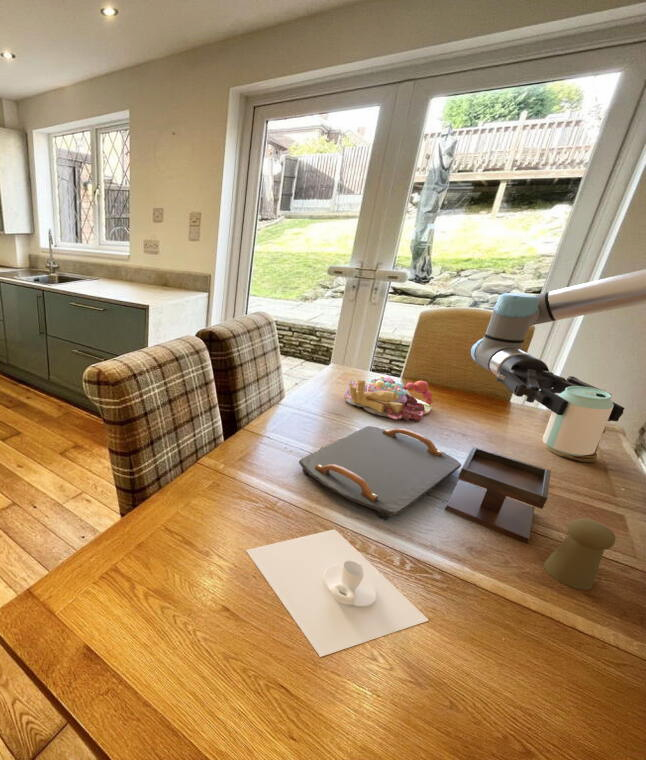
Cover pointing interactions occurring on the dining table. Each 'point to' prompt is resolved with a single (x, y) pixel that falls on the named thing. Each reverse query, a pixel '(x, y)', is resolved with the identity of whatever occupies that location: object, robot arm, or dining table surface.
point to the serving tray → (381, 468)
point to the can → (579, 421)
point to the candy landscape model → (390, 398)
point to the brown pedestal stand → (499, 492)
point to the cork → (580, 553)
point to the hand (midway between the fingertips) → (590, 411)
